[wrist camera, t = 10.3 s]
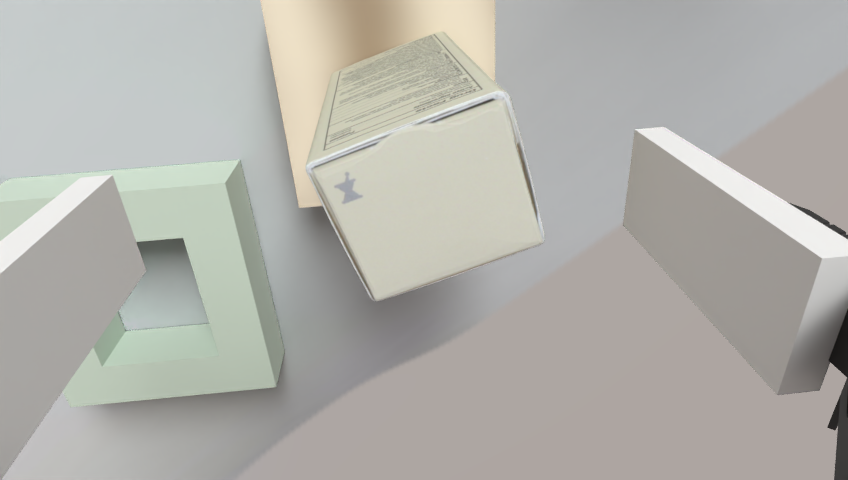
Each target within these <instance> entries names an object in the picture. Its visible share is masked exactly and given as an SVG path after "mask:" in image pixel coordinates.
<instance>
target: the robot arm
mask: <svg viewBox="0 0 848 480" xmlns="http://www.w3.org/2000/svg"><path fill="white" fill-rule="evenodd" d="M623 226H624V227H625V228H626V229H627V230H628V231H629V233H630V234H631V235H632V236H633V237H634V238H635V239H636V240H637V241H638V242H639V244H640V245H641V246H642V247H643V248H644V249H645V250H646V251H647V252H648V253H649V255H650V256H651V257H652V258H653V259H654V260H655V261H656V262H657V263H658V264H659V266H660V267H661V268H662V269H663V270H664V271H665V272H666V273H667V274H668V275H669V277H670V278H671V279H672V280H673V281H674V282H675V283H676V284H677V285H678V286H679V288H680V289H681V290H682V291H683V292H684V293H685V294H686V295H687V296H688V297H689V299H690V300H691V301H692V302H693V303H694V304H695V305H696V306H697V307H698V308H699V310H700V311H701V312H702V313H703V314H704V315H705V316H706V317H707V318H708V319H709V321H710V322H711V323H712V324H713V325H714V326H715V327H716V328H717V329H718V330H719V331H720V333H721V334H722V335H723V336H724V337H725V338H726V339H727V340H728V341H729V343H730V344H731V345H732V346H733V347H734V348H735V349H736V350H737V351H738V352H739V353H740V355H741V356H742V357H743V358H744V359H745V360H746V361H747V362H748V363H749V364H750V366H751V367H752V368H753V369H754V370H755V371H756V372H757V373H758V374H759V375H760V377H761V378H762V379H763V380H764V381H765V382H766V383H767V384H768V385H769V387H770V388H771V389H772V390H773V391H774V392H775V393H776V394H777V395H783V394H792V393H801V392H810V391H819V390H820V388H821V385H822V383H823V380H824V377H825V374H826V372H827V369H828V366H829V364H830V362H831V363H832V364H833V365H834V366H835V367H836V368H838V369H839V370H840V371H841V372H842V373H843V374H844V375H845V376H846V377H847V380H846V383H845V385H844V388H843V390H842V393H841V395H840V397H839V400H838V402H837V405H836V407H835V410H834V412H833V415H832V417H831V420H830V422H829V425H828V428H830V429H833V430H836V428H837V426H838V435H837V450H836V464H835V477H834V480H848V235H846V232H845V231H843V230H842V229H840V228H838V227H837V226H835V225H830V224H829V222H828V221H827V220H825V219H823V218H822V217H820V216H818V215H817V214H815V213H813V212H812V211H810V210H808V209H805V208H801V207H799V206H796V205H793V204H791V203H788V202H786V201H784V200H782V199H781V198H779V197H778V196H776V195H774V194H773V193H771V192H769V191H768V190H766V189H764V188H763V187H761V186H759V185H758V184H756V183H755V182H753V181H751V180H750V179H748V178H746V177H745V176H743V175H741V174H739V173H738V172H737V171H735V170H733V169H732V168H730V167H728V166H727V165H725V164H724V163H722V162H720V161H719V160H717V159H715V158H714V157H712V156H710V155H709V154H707V153H706V152H704V151H702V150H701V149H699V148H697V147H696V146H694V145H693V144H691V143H689V142H688V141H686V140H684V139H683V138H681V137H679V136H678V135H676V134H675V133H673V132H671V131H670V130H668V129H666V128H665V127H659V128H647V129H636V130H635V133H634V141H633V149H632V157H631V165H630V173H629V181H628V189H627V197H626V205H625V213H624V221H623ZM145 272H146V268H145V265H144V262H143V259H142V257H141V254H140V251H139V248H138V245H137V242H136V240H135V237H134V234H133V231H132V228H131V225H130V223H129V220H128V217H127V214H126V211H125V208H124V206H123V203H122V200H121V197H120V194H119V191H118V189H117V186H116V183H115V180H114V177H113V175H104V176H93V177H81V178H79V179H78V180H77V181H76V182H74V183H73V184H72V185H71V186H69V187H68V188H67V189H66V190H64V191H63V192H62V193H61V194H59V195H58V196H57V197H56V198H54V199H53V200H52V201H50V202H49V203H48V204H47V205H45V206H44V207H43V208H42V209H40V210H39V211H38V212H37V213H35V214H34V215H33V216H32V217H30V218H29V219H28V220H27V221H25V222H24V223H23V224H21V225H20V226H19V227H18V228H16V229H15V230H14V231H13V232H11V233H10V234H9V235H8V236H6V237H5V238H4V239H3V240H1V241H0V480H1V479H2V478H3V476H4V475H5V474H6V472H7V471H8V469H9V468H10V466H11V465H12V463H13V462H14V461H15V459H16V458H17V456H18V455H19V453H20V452H21V450H22V449H23V448H24V446H25V445H26V443H27V442H28V440H29V439H30V438H31V436H32V435H33V433H34V432H35V430H36V429H37V427H38V426H39V425H40V423H41V422H42V420H43V419H44V417H45V416H46V414H47V413H48V412H49V410H50V409H51V407H52V406H53V404H54V403H55V401H56V400H57V399H58V397H59V396H60V394H61V393H62V391H63V390H64V389H65V387H66V386H67V384H68V383H69V381H70V380H71V378H72V377H73V376H74V374H75V373H76V371H77V370H78V368H79V367H80V365H81V364H82V363H83V361H84V360H85V358H86V357H87V355H88V354H89V353H90V351H91V350H92V348H93V347H94V345H95V344H96V342H97V341H98V340H99V338H100V337H101V335H102V334H103V332H104V331H105V329H106V328H107V327H108V325H109V324H110V322H111V321H112V319H113V318H114V316H115V315H116V314H117V312H118V311H119V309H120V308H121V306H122V305H123V304H124V302H125V301H126V299H127V298H128V296H129V295H130V293H131V292H132V291H133V289H134V288H135V286H136V285H137V283H138V282H139V280H140V279H141V278H142V276H143V275H144V273H145Z"/></svg>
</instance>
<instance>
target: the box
mask: <svg viewBox="0 0 848 480" xmlns="http://www.w3.org/2000/svg"><path fill="white" fill-rule="evenodd" d="M305 168H306V172H307V174H308V176H309V178H310V180H311V182H312V184H313V186H314V188H315V191H316V193H317V195H318V197H319V199H320V201H321V204H322V206H323V208H324V210H325V212H326V214H327V216H328V218H329V220H330V222H331V224H332V226H333V228H334V230H335V232H336V234H337V236H338V238H339V240H340V242H341V244H342V246H343V248H344V250H345V252H346V254H347V256H348V258H349V259H350V261H351V263H352V265H353V267H354V269H355V271H356V273H357V275H358V276H359V278H360V280H361V282H362V283H363V285H364V287H365V289H366V291H367V293H368V295H369V296H370V298H371V299H372V300H373V301H381V300H385V299H388V298H390V297H394V296H397V295H400V294H403V293H406V292H409V291H412V290H415V289H419V288H421V287H424V286H427V285H430V284H433V283H436V282H439V281H442V280H445V279H448V278H451V277H454V276H457V275H459V274H462V273H465V272H467V271H470V270H473V269H476V268H479V267H482V266H484V265H487V264H490V263H492V262H495V261H498V260H501V259H503V258H506V257H509V256H512V255H514V254H517V253H520V252H522V251H525V250H528V249H531V248H534V247H536V246H539V245H541V244H543V243H544V241H545V234H544V229H543V225H542V220H541V216H540V212H539V208H538V203H537V198H536V194H535V190H534V186H533V182H532V178H531V173H530V169H529V165H528V161H527V157H526V153H525V149H524V145H523V141H522V138H521V134H520V130H519V127H518V123H517V119H516V116H515V112H514V108H513V104H512V100H511V97H510V95H509V94H508V93H507V92H506V91H504V90H503V89H502V88H501V87H500V86H499V85H498V84H496V83H495V82H494V81H493V80H492V79H491V78H490V77H489V76H488V75H487V74H486V73H485V72H484V71H483V70H482V69H481V68H480V67H479V66H478V65H477V64H476V63H475V62H474V61H473V60H472V59H471V58H470V57H469V56H468V55H467V54H466V53H465V52H464V51H463V50H462V49H461V48H460V47H459V46H458V45H457V44H456V43H455V42H454V41H453V40H452V39H451V38H450V37H449V36H448V35H447V34H446V33H445V32H441V31H440V32H436V33H434V34H431V35H428V36H425V37H422V38H419V39H416V40H413V41H411V42H408V43H405V44H403V45H400V46H397V47H395V48H392V49H390V50H387V51H385V52H382V53H380V54H378V55H375V56H372V57H370V58H367V59H365V60H362V61H360V62H357V63H355V64H353V65H351V66H348V67H346V68H343V69H341V70H339V71H336V72H334V73H332V75H331V77H330V81H329V84H328V88H327V92H326V96H325V99H324V102H323V106H322V110H321V113H320V117H319V120H318V124H317V127H316V131H315V135H314V138H313V141H312V145H311V149H310V152H309V155H308V159H307V162H306V167H305Z"/></svg>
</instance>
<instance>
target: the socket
mask: <svg viewBox="0 0 848 480" xmlns="http://www.w3.org/2000/svg"><path fill="white" fill-rule="evenodd" d="M104 175H113V177H114V180H115V183H116V186H117V189H118V191H119V194H120V197H121V200H122V203H123V206H124V208H125V211H126V214H127V217H128V220H129V223H130V225H131V228H132V231H133V234H134V237H135V240H136V242H142V241H153V240H165V239H176V238H183V240H184V243H185V246H186V249H187V253H188V256H189V259H190V262H191V266H192V269H193V272H194V275H195V279H196V282H197V285H198V289H199V292H200V295H201V298H202V302H203V305H204V308H205V311H206V315H207V318H208V321H209V324H198V325H188V326H177V327H166V328H155V329H145V330H134V331H125V328H124V326H123V323H122V321H121V318H120V316H119V313H118V312H117V314H116V315H115V316H114V318H113V319H112V321H111V322H110V324H109V325H108V327H107V328H106V329H105V331H104V332H103V334H102V335H101V337H100V338H99V340H98V341H97V342H96V344H95V345H94V347H93V348H92V350H91V351H90V353H89V354H88V355H87V357H86V358H85V360H84V361H83V363H82V364H81V365H80V367H79V368H78V370H77V371H76V373H75V374H74V376H73V377H72V378H71V380H70V381H69V383H68V384H67V386H66V387H65V389H64V390H63V393H64V395H65V397H66V399H67V401H68V403H69V405H70V407H78V406H89V405H99V404H109V403H120V402H130V401H140V400H150V399H161V398H171V397H181V396H191V395H202V394H212V393H222V392H233V391H243V390H253V389H263V388H274V387H277V383H278V378H279V374H280V370H281V365H282V361H283V357H284V352H285V351H284V346H283V342H282V338H281V333H280V329H279V325H278V321H277V316H276V312H275V308H274V303H273V299H272V295H271V290H270V286H269V282H268V277H267V273H266V269H265V265H264V260H263V256H262V252H261V247H260V243H259V239H258V234H257V230H256V226H255V222H254V217H253V213H252V209H251V204H250V200H249V196H248V191H247V187H246V183H245V178H244V174H243V170H242V166H241V161H240V160H230V161H218V162H206V163H193V164H181V165H169V166H157V167H145V168H133V169H121V170H108V171H96V172H84V173H72V174H60V175H48V176H35V177H23V178H11V179H8V180H7V181H5V182H4V183H2V184H1V185H0V241H1V240H3V239H4V238H5V237H6V236H8V235H9V234H10V233H11V232H13V231H14V230H15V229H16V228H18V227H19V226H20V225H21V224H23V223H24V222H25V221H27V220H28V219H29V218H30V217H32V216H33V215H34V214H35V213H37V212H38V211H39V210H40V209H42V208H43V207H44V206H45V205H47V204H48V203H49V202H50V201H52V200H53V199H54V198H56V197H57V196H58V195H59V194H61V193H62V192H63V191H64V190H66V189H67V188H68V187H69V186H71V185H72V184H73V183H74V182H76V181H77V180H78V179H79V178H81V177H93V176H104Z"/></svg>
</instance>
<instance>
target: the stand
mask: <svg viewBox="0 0 848 480" xmlns="http://www.w3.org/2000/svg"><path fill="white" fill-rule="evenodd" d="M260 1H261V6H262V11H263V17H264V22H265V27H266V33H267V38H268V44H269V49H270V54H271V60H272V65H273V70H274V76H275V81H276V86H277V92H278V97H279V103H280V108H281V113H282V119H283V124H284V129H285V135H286V140H287V145H288V151H289V156H290V162H291V167H292V172H293V178H294V183H295V188H296V194H297V199H298V204H299V208H305V207H316V206H322V204H321V201H320V199H319V197H318V195H317V193H316V191H315V188H314V186H313V184H312V182H311V180H310V178H309V176H308V174H307V172H306V168H305V167H306V162H307V159H308V155H309V152H310V149H311V145H312V141H313V138H314V135H315V131H316V127H317V124H318V120H319V117H320V113H321V110H322V106H323V102H324V99H325V96H326V92H327V88H328V84H329V81H330V77H331V75H332V73H334V72H336V71H339V70H341V69H343V68H346V67H348V66H351V65H353V64H355V63H357V62H360V61H362V60H365V59H367V58H370V57H372V56H375V55H378V54H380V53H382V52H385V51H387V50H390V49H392V48H395V47H397V46H400V45H403V44H405V43H408V42H411V41H413V40H416V39H419V38H422V37H425V36H428V35H431V34H434V33H436V32H440V31H441V32H445V33H446V34H447V35H448V36H449V37H450V38H451V39H452V40H453V41H454V42H455V43H456V44H457V45H458V46H459V47H460V48H461V49H462V50H463V51H464V52H465V53H466V54H467V55H468V56H469V57H470V58H471V59H472V60H473V61H474V62H475V63H476V64H477V65H478V66H479V67H480V68H481V69H482V70H483V71H484V72H485V73H486V74H487V75H488V76H489V77H490V78H491V79H492V80H493V81H494V82H495V0H260Z"/></svg>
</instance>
